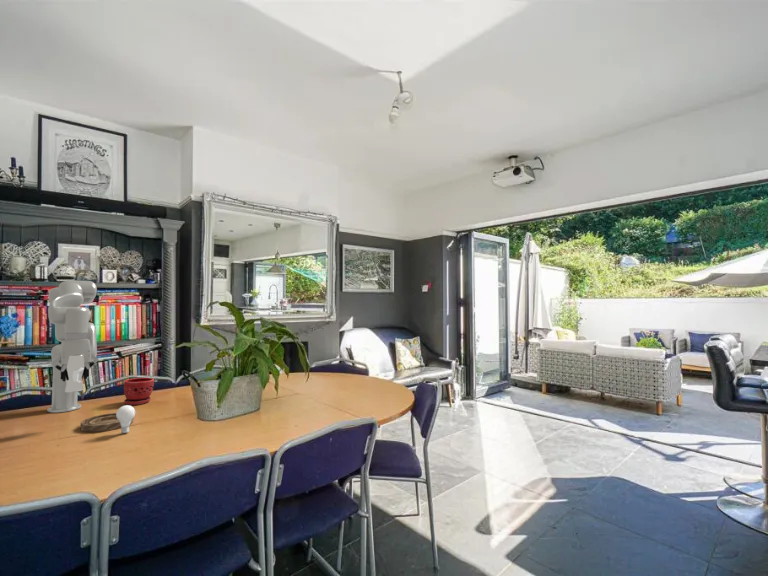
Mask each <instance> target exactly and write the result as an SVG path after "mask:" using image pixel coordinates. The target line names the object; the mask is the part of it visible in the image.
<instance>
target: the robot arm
mask: <svg viewBox="0 0 768 576" xmlns="http://www.w3.org/2000/svg"><path fill="white" fill-rule="evenodd" d="M97 293H98V288H97V285H96V283H95V282H94V281H91V280H74V279H72V280H71V279H70V280H69V279H68V280H63V281H62V282H61V283H59V284H58V287H54V288H53V287H52V288H51V289H50V290H49V292H48V300H49V304H48V309H47V314H48V320H49V322H50V323H51V324H52V325H54V335H55V339H56V340H57V341H58V342H61V344H57V345H55V346H53V347H52V348H51V351H50V356H51V362H50V365H52V388H51V389H52V390H51V394H52V395H51V406H50V407H48V408H47V409H46V410H47V412H48V413H51V414H52V413H56V414H57V413H64V412H65V413H66V412H71V411H75V410H78V409H81V408H82V404H81V403H78V392H79V391H77V392H65V389H66V384H67V381H66V372H65V369H66V365H67V364H68V360H69V356H75V355H84V361H85V366H86V367H85V372H84V376H83V379H84V380H85V379H86V380H87V379H88V377H89V376H90V369H91V368H92V367H93V366H95V364H96V363H97V362H99V360H100V359H99V358H98V357H97V356H98V345H97V343H98V342H97V341H98V340H97V329H96V326H95V324H94V323H92V322H89V321H91V318H92V311H91V310H90V308H88V307H86V306H82V305H88V304H89V305H90V304H91V303H93V301H94V299H95V298H96V296H97Z"/></svg>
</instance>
